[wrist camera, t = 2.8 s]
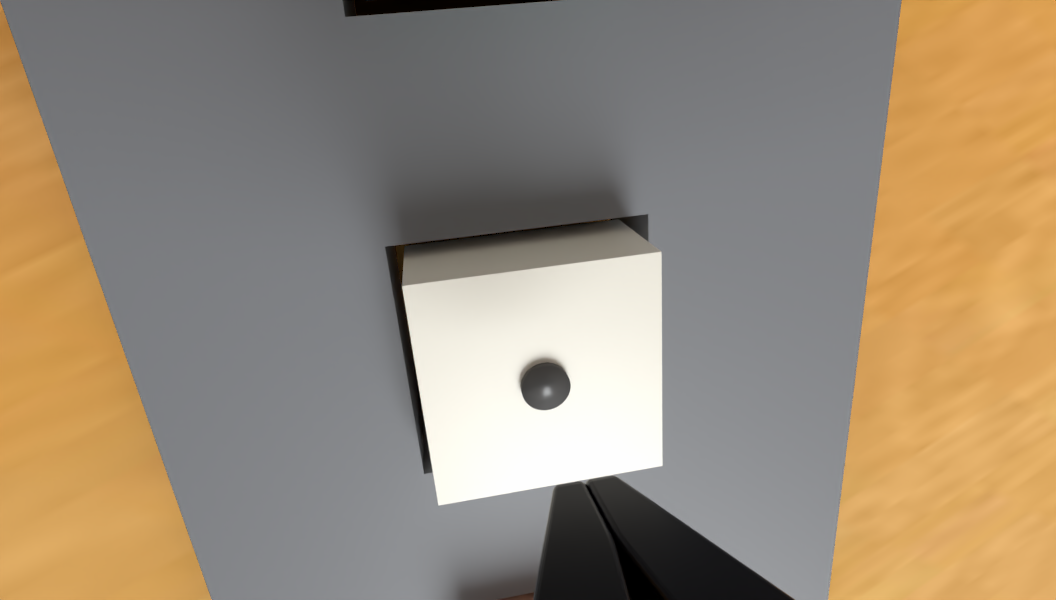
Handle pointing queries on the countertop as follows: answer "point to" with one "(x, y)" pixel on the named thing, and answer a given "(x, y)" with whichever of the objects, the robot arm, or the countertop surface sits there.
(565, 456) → the one-dot button
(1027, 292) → the countertop surface
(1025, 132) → the countertop surface
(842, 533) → the countertop surface
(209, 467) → the button board
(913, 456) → the countertop surface
